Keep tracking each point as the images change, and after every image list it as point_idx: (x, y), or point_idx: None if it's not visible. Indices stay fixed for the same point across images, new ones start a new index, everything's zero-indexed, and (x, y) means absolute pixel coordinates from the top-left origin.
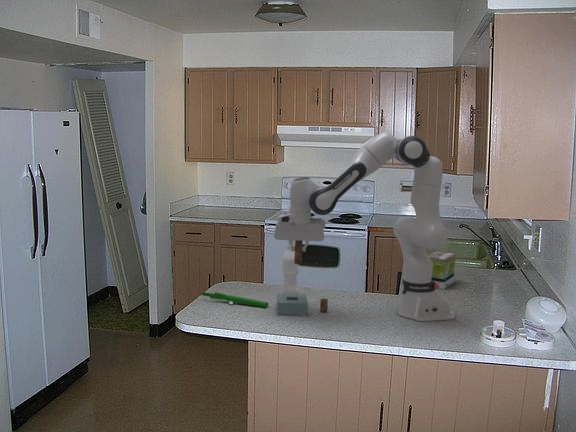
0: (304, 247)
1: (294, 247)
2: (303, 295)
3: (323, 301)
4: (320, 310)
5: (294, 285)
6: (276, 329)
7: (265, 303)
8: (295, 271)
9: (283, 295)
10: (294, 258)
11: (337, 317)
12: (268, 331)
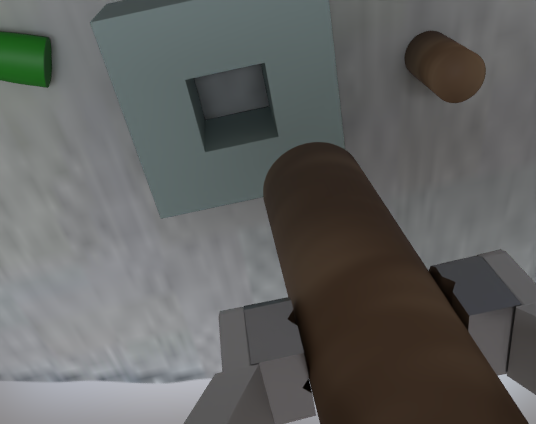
0: (509, 372)
1: (303, 408)
2: (308, 10)
3: (450, 100)
4: (408, 68)
5: None
6: (212, 340)
7: (38, 81)
8: None
9: (151, 46)
10: (274, 240)
11: (491, 142)
12: (186, 363)
